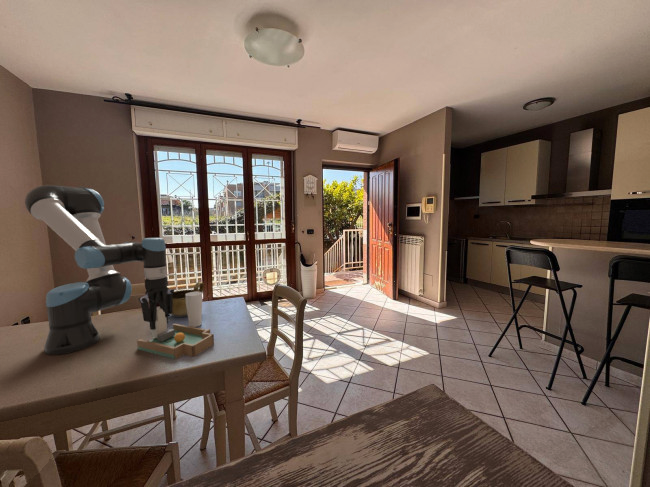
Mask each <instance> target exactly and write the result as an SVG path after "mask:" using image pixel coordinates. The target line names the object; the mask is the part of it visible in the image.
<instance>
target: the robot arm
mask: <svg viewBox="0 0 650 487" xmlns="http://www.w3.org/2000/svg"><path fill="white" fill-rule="evenodd" d="M104 206H105V202H104V199H103V197H102V195H101V194H100V193H99V192H98V191H96V190H94V189H93V188H86V187H83V186H80V187H79V186H78V187H77V186H64V185H55V184H45V185H39V186H36V187H34V188H33V189H31V190H30V191H28V193H27V194H26V195H25V198H24V207H25V208H26V210H27V212H28V213H29V214H30V215H31V216H32V217H34V218H35V219H36V220H39V221H42V222H44V223H45V224H46V225H47V226H48V227H49V228H50V229H51V230H52V231H53V232H54V233H55V234H56V235H58V236H59V237H60V238H61V239H63V241H64V242H65V243H66V244H67V245H68V246H70V247H71V248H72V249H73V250H74V251H75V253H74V260H75V262H76V265H77V266H78V267H80V268H81V269H84V270H85V269H86V272H87V274H88V278H87V279H86V281H80V282H79V281H77V282H73V283H67V284H64V285H63V284H62V285H60V286H57V287H55V288H51V290H49V291H48V292H47V293H46V295H45V300H46V301H45V306H46V312H47V319H48V327H49V331H48V334H47V337H46V339H45V343H44V346H43V348H44V353H45V354H46V355H51V356H53V355H54V356H55V355H57V356H58V355H64V354H70V353H73V352H77V351H80V350H83V349H86V348H88V347H91V346H93V345H95V343H97V342H98V341H99V340H100V334H99V332H98V329H97V328H96V326H95V325H94V322H93V320H92V314H94V313H97V312H99V311H102V310H106V309H110V308H113V307H117V306H119V305H122V304H124V303H127V302H128V301H129V299H130V298H131V295H132V291H133V288H132V287H133V286H132V283H131V281H130V280H129V278H128V277H124V276H122V275H121V272H119V271H117V270H115V267H114V266H115V265H121V264H127V263H132V262H142V263H143V264H142V265H143V277H144V288H145V294H144V295H143V296H142V297H139V298H138V302H139V303H140V307H141V312H142V318H143V321H144V322H146V323H149V329H150V330H151V336H152V337H153V338H154V337H157V335H159V329H158V321H156V311H157V307H158V304H159V308H161V309H163V312H165V322H166V331H167V330H168V324H169V317H170V316H171V313H172V312H173V293H174V291H175V290H174V289H171V288H170V289H169V287H168V285H169V281H168V276H167V275H168V270H167V268H168V266H167V251H166V250H167V247H166V242H165V241H166V240H165V239H164V238H162V237H146V238H143V239H142V240H141V242H136V241H127V242H126V241H125V242H123V243H116V244H113V243H112V244H107V243H106V240H105V237H104V234H103V230H102V228H101V225H100V222H99V219H100V217H102V213H103V212H104V210H105V207H104ZM165 295H166V296H165Z"/></svg>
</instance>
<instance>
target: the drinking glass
mask: <svg viewBox="0 0 650 487" xmlns="http://www.w3.org/2000/svg"><path fill="white" fill-rule="evenodd" d="M185 299H186V308H187V315H188V316H187V320H188V326H190V327H195V328H199V326H201V325H202V322H203V319H202V317H203V293H202V292H189V293H187V294H186V295H185Z"/></svg>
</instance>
